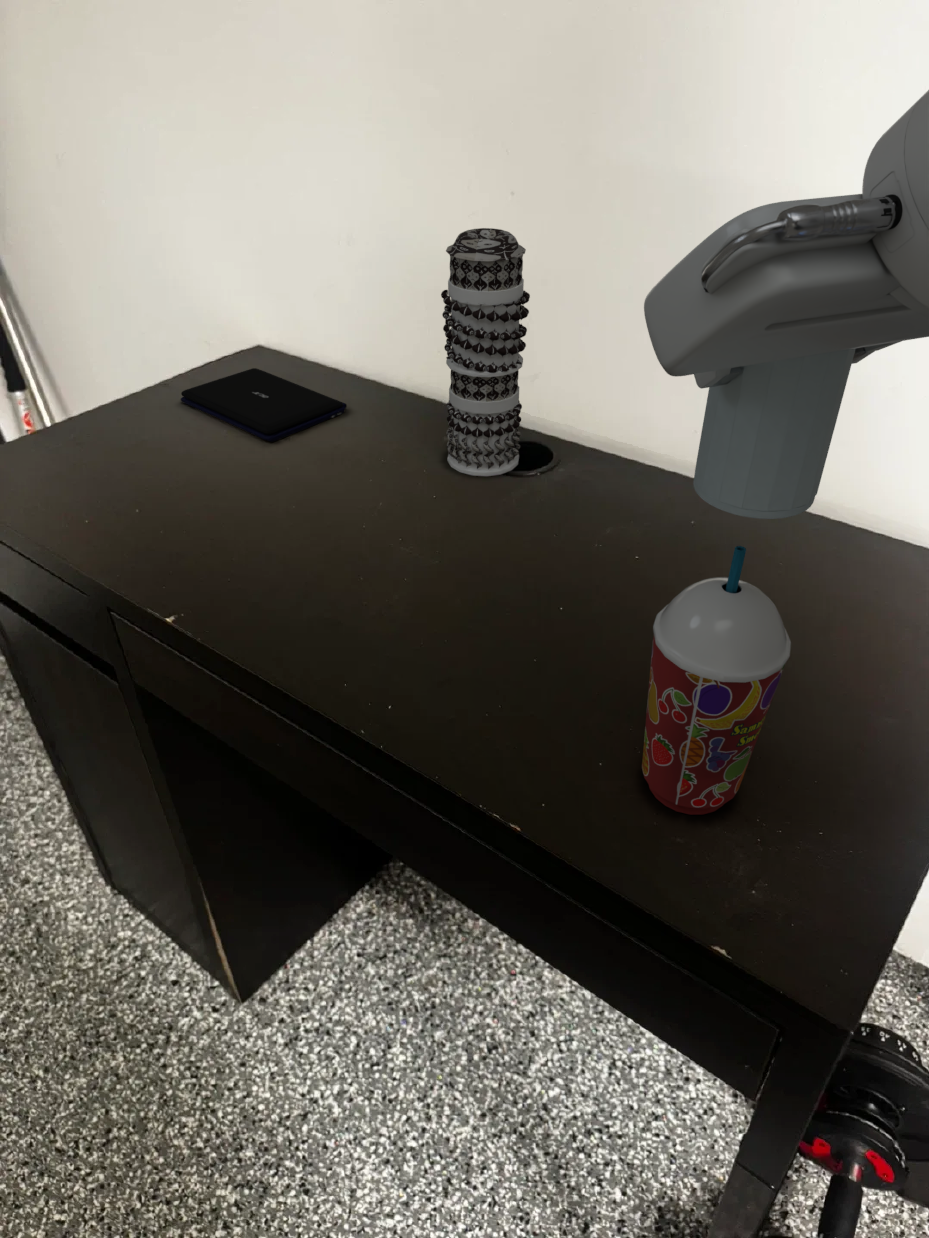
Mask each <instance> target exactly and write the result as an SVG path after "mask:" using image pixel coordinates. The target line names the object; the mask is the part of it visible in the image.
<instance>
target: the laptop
mask: <svg viewBox="0 0 929 1238" xmlns="http://www.w3.org/2000/svg"><path fill="white" fill-rule="evenodd" d="M180 394H181V396H182V397H181V398H180V401H181V402H182V403H184V404H186V405H188V406H190V407H192V408H194V409H197V410H199V411H201V412H203V413H205V414H208V415H210V416H212V417H214V418H216V419H219V420H221V421H222V422H225V423H227V424H229V425H232V426H233V427H235V428H238V429H240V430H242V431H244V432H247V433H248V434H251V435H253V436H255V437H257V438H260V439H262V440H264V441H267V442H271V443H272V442H277V441H279V440H281V439H283V438H286V437H288V436H292V435H293V434H296V433H299V432H301V431H303V430H306V429H308V428H310V427H314V426H316V425H318V424H320V423H323V422H325V421H328V420H331V419H333V418H335V417H337V416H339V415H343V414H344V413H345V410H346V408H347V403H345V402H343V401H340V400H338V399H335V398H332V397H330V396H328V395H325V394H323V393H320V392H317V391H315V390H313V389H311V388H307V387H305V386H303V385H300V384H298V383H295V382H293V381H291V380H288V379H285V378H282V377H280V376H277V375H275V374H272V373H269V372H268V371H265V370H263V369H260V368H257V367H255V368H254V367H252V368H249V369H246V370H244V371H240V372H237V373H233V374H230V375H228V376H223V377H221V378H218V379H215V380H212V381H208V382H205V383H203V384H200V385H199V384H198V385H197V386H193V387H190V388H187V389H184V390H183V391H181V393H180Z"/></svg>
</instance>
